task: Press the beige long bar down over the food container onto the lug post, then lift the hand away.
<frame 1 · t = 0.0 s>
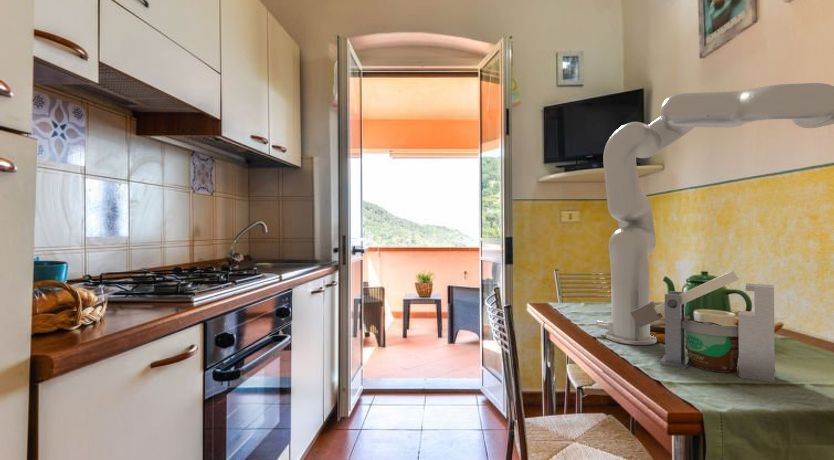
hinge post: (675, 362, 94), on the table
lug post: (757, 376, 84), on the table
food container: (704, 367, 90), on the table, touching hinge post, lug post
beige long bar: (682, 298, 93), point 15 cm above the table, hinge at 32.0°
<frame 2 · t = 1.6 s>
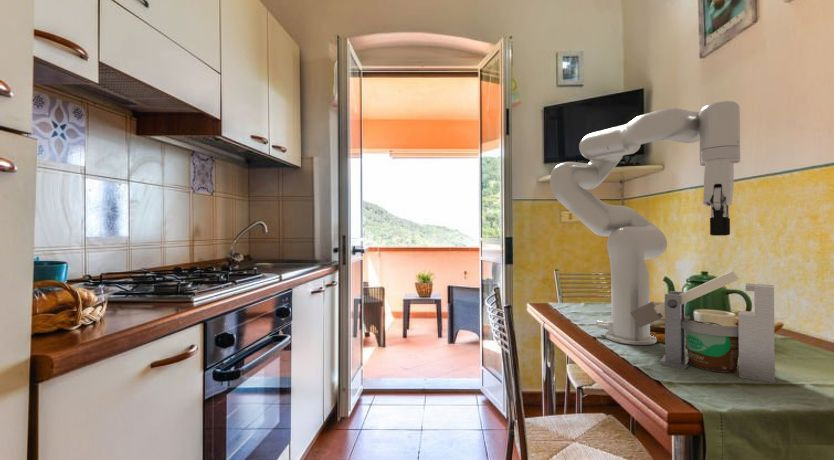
hand: (720, 234, 94), 29 cm above the table, tool pointing down, fingers open, 5 cm apart
nothing on the table moved.
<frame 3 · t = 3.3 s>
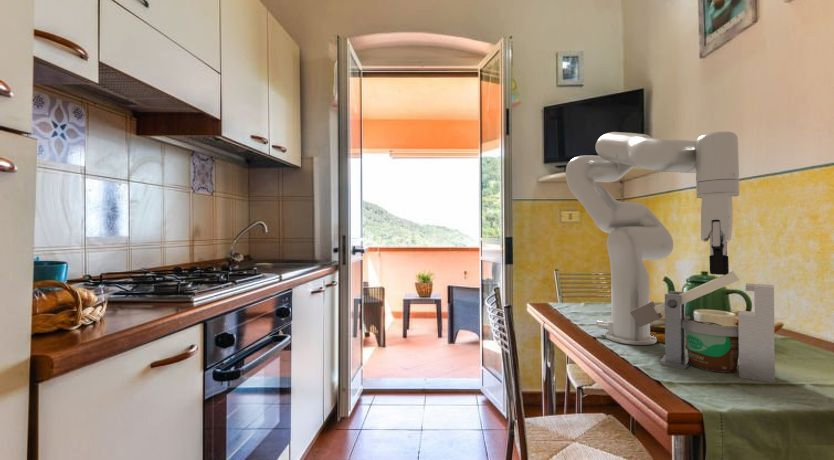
hand: (719, 274, 88), 21 cm above the table, tool pointing down, fingers closed
beige long bar: (682, 298, 93), point 15 cm above the table, hinge at 31.4°, touching gripper
everything else where it was.
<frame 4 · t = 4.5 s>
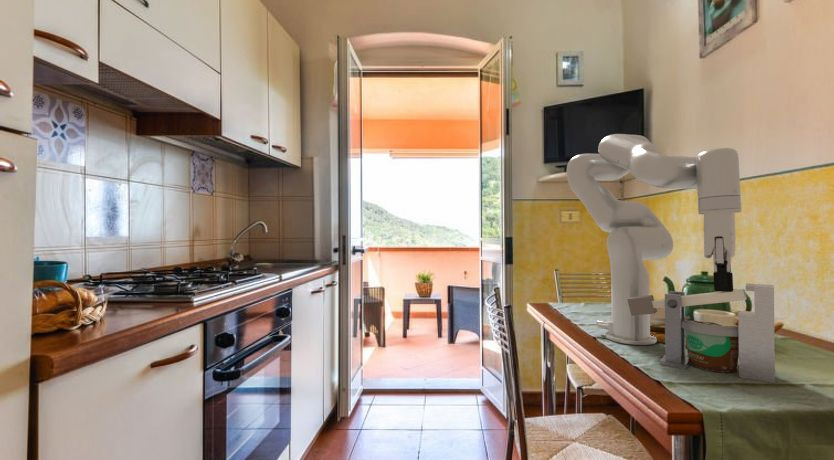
hand: (723, 291, 88), 17 cm above the table, tool pointing down, fingers closed
beige long bar: (683, 300, 93), point 14 cm above the table, hinge at 13.1°, touching gripper
everything else where it was.
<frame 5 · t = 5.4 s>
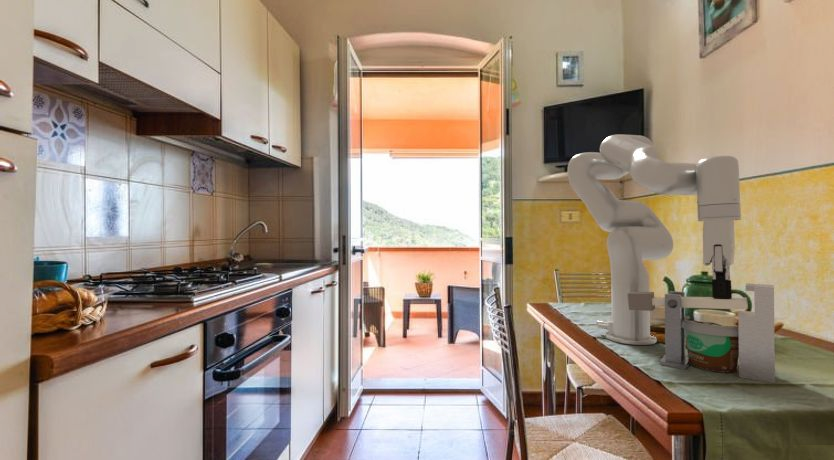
hand: (722, 298, 88), 16 cm above the table, tool pointing down, fingers closed
beige long bar: (684, 302, 93), point 14 cm above the table, hinge at 4.6°, touching gripper
everything else where it was.
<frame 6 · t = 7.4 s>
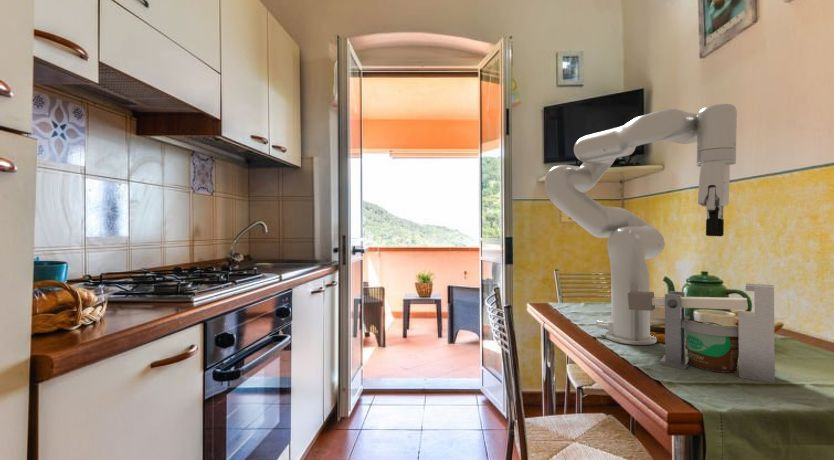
hand: (714, 235, 97), 29 cm above the table, tool pointing down, fingers closed
beige long bar: (684, 302, 93), point 14 cm above the table, hinge at 4.2°
everything else where it was.
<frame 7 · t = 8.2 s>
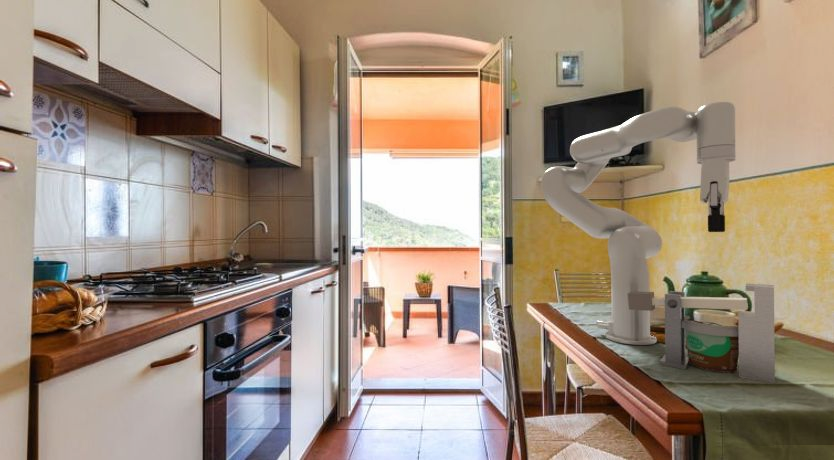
hand: (716, 231, 98), 30 cm above the table, tool pointing down, fingers closed
nothing on the table moved.
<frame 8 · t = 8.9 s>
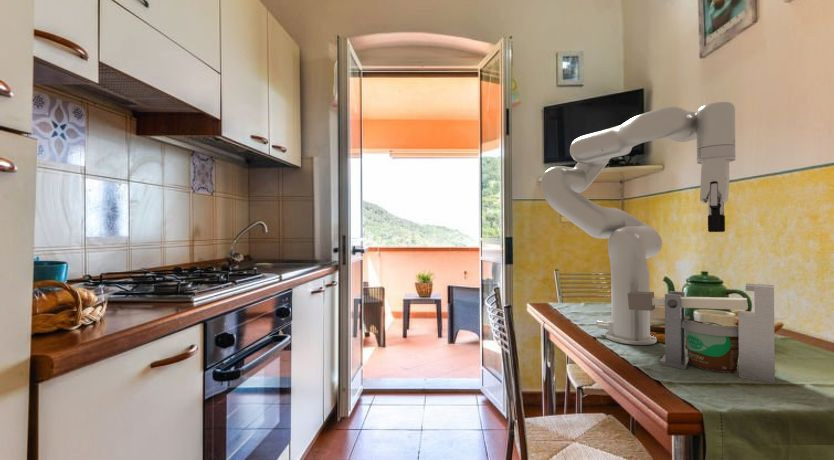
hand: (716, 231, 98), 30 cm above the table, tool pointing down, fingers closed
nothing on the table moved.
at the end: beige long bar at +4° (first picture: +32°); food container moved 0.5 cm from its start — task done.
